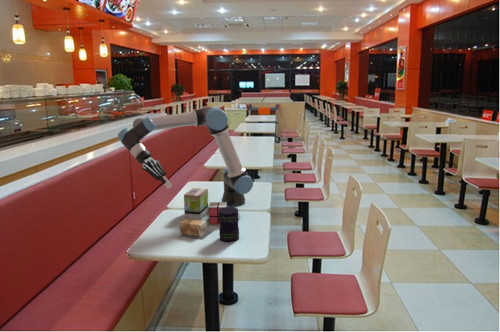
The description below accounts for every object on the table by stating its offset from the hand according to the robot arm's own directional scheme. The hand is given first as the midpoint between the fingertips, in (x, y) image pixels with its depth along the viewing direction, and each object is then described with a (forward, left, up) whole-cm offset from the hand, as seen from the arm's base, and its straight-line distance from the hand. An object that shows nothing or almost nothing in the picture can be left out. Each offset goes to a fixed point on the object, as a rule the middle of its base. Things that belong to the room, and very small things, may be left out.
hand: (170, 187), depth 204 cm
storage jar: (-17, +28, -24) cm, 41 cm away
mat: (-7, +12, -24) cm, 28 cm away
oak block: (-3, +5, -21) cm, 21 cm away
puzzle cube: (-26, +5, -24) cm, 36 cm away
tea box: (-22, -12, -24) cm, 35 cm away
